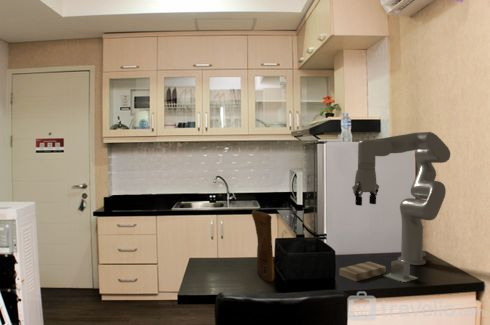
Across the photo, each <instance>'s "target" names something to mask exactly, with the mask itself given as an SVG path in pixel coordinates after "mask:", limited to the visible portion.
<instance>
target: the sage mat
mask: <svg viewBox="0 0 490 325" xmlns="http://www.w3.org/2000/svg"><path fill="white" fill-rule="evenodd" d="M382 277H386V278H387V279H391V280H393V281H397V282H400V281H401V282H400V283H403V282H405V283H408V282H412V281H415V280H418V279H419V277H416V276H414V275H411V274H410V278H406V279H401V278H398V277H395V276H392V275H391V272H390V273H385V274H382ZM411 280H412V281H411Z"/></svg>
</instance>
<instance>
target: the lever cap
mask: <svg viewBox="0 0 490 325" xmlns="http://www.w3.org/2000/svg"><path fill="white" fill-rule="evenodd" d="M390 262H391V264H390V273H391V275H392V276H395V277H398V278H401V279H406V278H410V275H411V264H410V263H406V262H403V261H399V260H398V259H397V260H396V259H395V260H392V261H390Z"/></svg>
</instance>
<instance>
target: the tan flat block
mask: <svg viewBox="0 0 490 325" xmlns="http://www.w3.org/2000/svg"><path fill="white" fill-rule="evenodd" d="M386 270H387V268H386V266H385V265H382V264H378V263H375V262H372V261H366V262H362V263H356V264H353V265H349V266H344V267H340V268H339V271H338V272H339V273H338V274H339V276H340V277H343V278H346V279H348V280H351V281H354V282H358V281H362V280H366V279H369V278H374V277H376V276H381V275H385V274H387V273H386V272H387V271H386Z"/></svg>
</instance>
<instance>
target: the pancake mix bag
mask: <svg viewBox="0 0 490 325" xmlns="http://www.w3.org/2000/svg"><path fill="white" fill-rule="evenodd" d="M251 216H252V220H253V222H254V225H255V227H254V228H255V231H256V232H255V233H256V237H257V248H256V250H257V251H256V253H257V254H256V273H257V274H258V275H259V276H260V277H261V279H262V280H263V281H266V282H270V283H271V282H273V281H274V280H275V268H274V255H273V254H274V253H273V243H272V241H273V240H272V238H273V237H272V215H270V214H268V213H266V212H262V211H260V210H259V211H258V210H255V209H253V210H252V211H251Z"/></svg>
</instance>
